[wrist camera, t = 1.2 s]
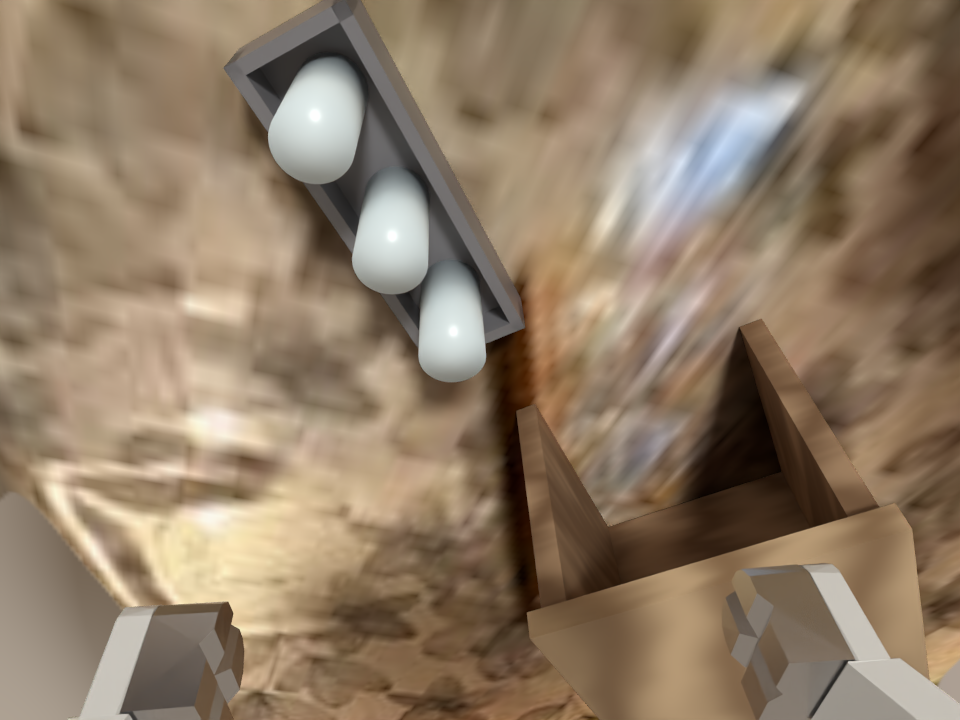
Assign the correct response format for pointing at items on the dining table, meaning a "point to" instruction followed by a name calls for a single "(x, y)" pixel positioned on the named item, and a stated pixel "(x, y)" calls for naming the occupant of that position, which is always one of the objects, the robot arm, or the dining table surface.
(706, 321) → the dining table surface
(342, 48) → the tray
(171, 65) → the dining table surface
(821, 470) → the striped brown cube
